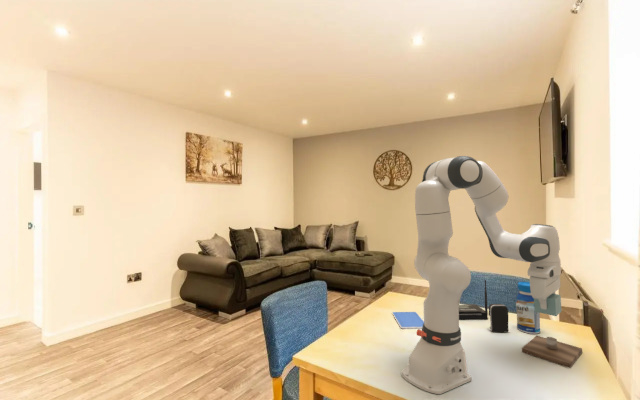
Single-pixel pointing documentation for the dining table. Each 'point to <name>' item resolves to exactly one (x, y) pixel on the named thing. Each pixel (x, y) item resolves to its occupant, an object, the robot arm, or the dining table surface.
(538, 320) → the beverage bottle
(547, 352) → the stub plate
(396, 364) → the dining table surface
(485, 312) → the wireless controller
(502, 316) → the battery charger
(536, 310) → the sage green cube
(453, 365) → the robot arm
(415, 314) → the tablet computer
